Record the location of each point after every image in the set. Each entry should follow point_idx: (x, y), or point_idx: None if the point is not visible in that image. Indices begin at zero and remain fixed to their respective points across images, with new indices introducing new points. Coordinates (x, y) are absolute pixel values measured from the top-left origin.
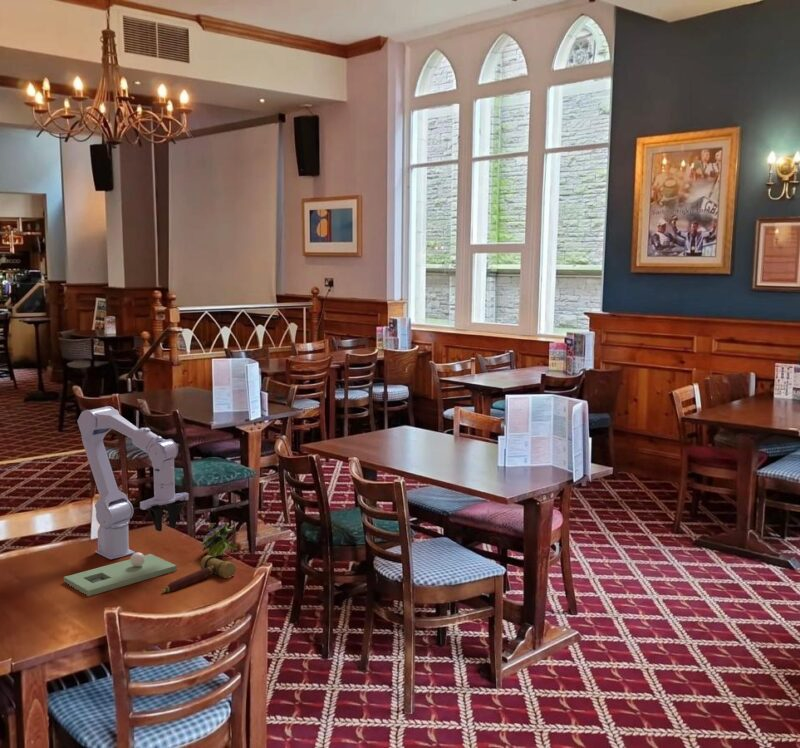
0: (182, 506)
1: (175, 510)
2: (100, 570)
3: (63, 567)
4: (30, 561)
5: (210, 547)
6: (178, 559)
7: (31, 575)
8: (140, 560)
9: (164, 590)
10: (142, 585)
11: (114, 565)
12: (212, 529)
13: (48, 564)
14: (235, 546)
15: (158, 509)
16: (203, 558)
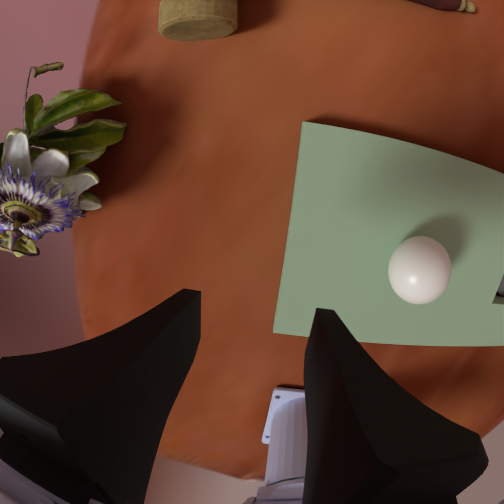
0: (4, 358)
1: (115, 382)
2: (479, 321)
3: (443, 414)
4: None
5: (85, 148)
6: (206, 230)
7: (493, 408)
8: (433, 242)
9: (471, 2)
10: (478, 121)
11: (432, 329)
12: (14, 225)
13: None
14: (29, 99)
15: (443, 480)
16: (213, 10)
